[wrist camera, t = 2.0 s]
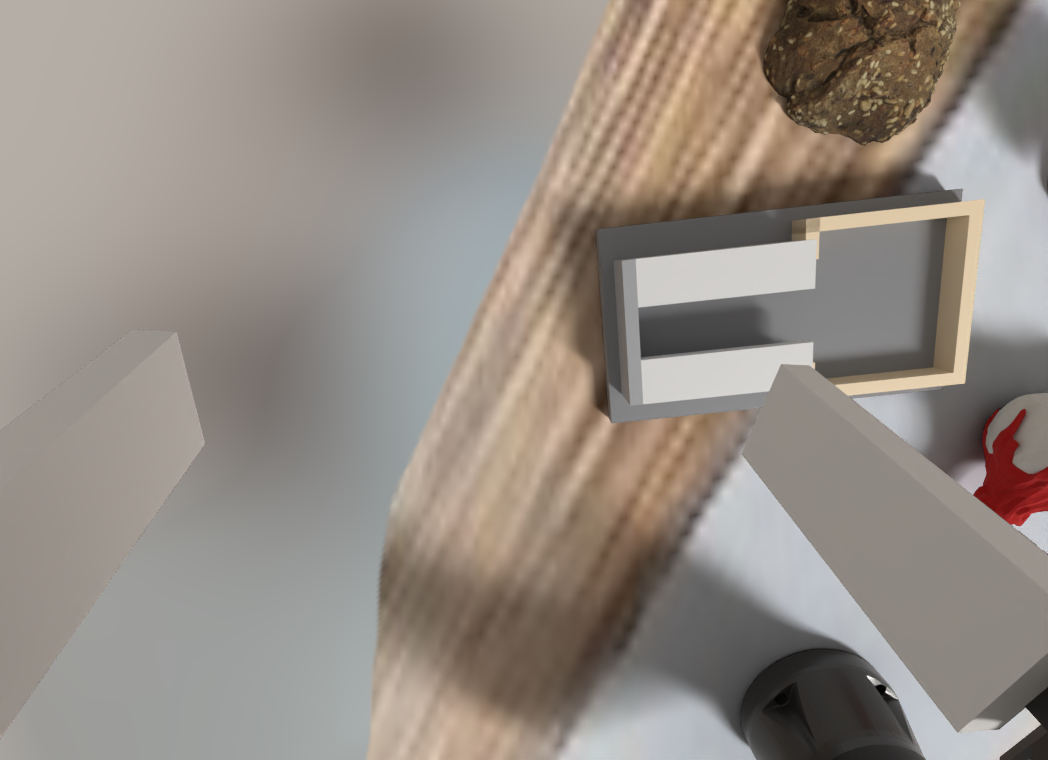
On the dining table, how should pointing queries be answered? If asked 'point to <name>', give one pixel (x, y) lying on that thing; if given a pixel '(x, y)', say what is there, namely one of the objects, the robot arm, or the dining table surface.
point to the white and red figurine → (1016, 459)
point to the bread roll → (860, 63)
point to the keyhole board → (788, 302)
